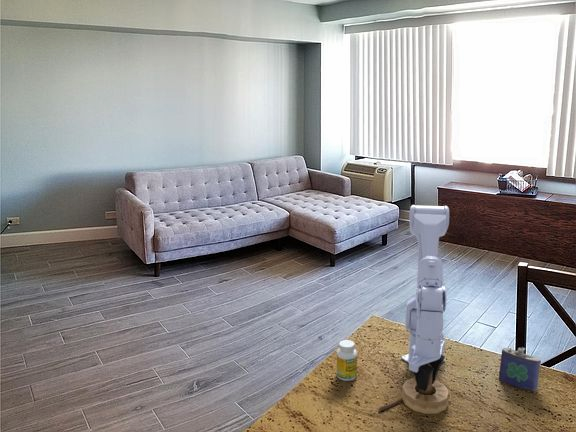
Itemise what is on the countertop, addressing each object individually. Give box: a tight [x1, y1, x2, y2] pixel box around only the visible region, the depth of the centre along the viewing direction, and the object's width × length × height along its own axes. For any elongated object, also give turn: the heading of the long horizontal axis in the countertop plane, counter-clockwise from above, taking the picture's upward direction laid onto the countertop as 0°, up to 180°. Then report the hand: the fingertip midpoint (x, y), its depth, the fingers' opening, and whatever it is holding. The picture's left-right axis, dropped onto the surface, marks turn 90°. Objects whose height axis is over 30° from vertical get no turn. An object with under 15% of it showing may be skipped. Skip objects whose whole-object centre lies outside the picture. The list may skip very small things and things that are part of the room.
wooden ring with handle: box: [378, 376, 450, 415], centre depth 120 cm, size 18×10×3 cm, turn 123°
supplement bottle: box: [336, 339, 358, 382], centre depth 132 cm, size 5×5×10 cm
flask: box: [498, 346, 542, 393], centre depth 126 cm, size 9×3×11 cm, turn 50°
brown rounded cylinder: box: [418, 363, 433, 396], centre depth 121 cm, size 3×3×8 cm
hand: (425, 385), depth 121 cm, fingers closed on brown rounded cylinder, 3 cm apart
